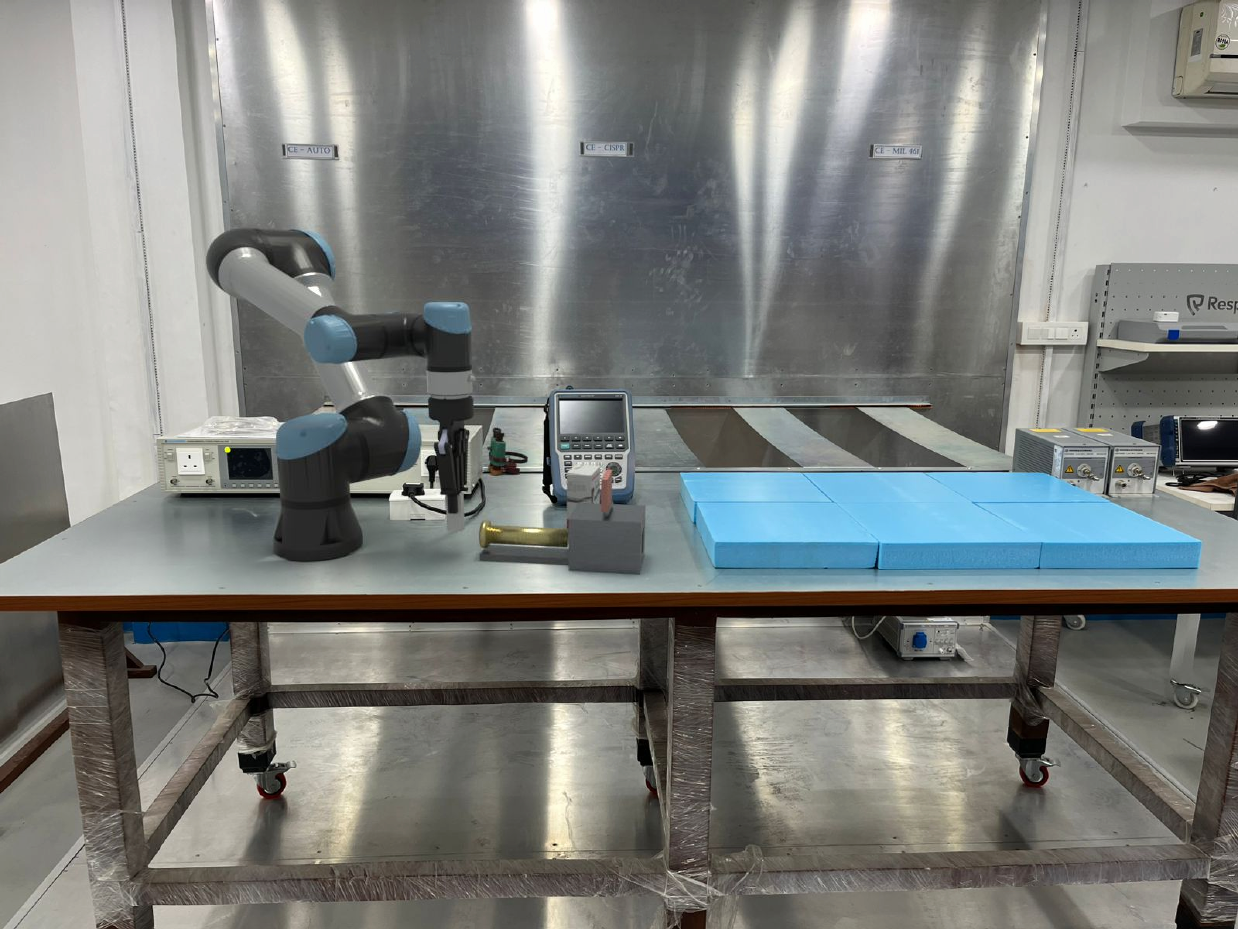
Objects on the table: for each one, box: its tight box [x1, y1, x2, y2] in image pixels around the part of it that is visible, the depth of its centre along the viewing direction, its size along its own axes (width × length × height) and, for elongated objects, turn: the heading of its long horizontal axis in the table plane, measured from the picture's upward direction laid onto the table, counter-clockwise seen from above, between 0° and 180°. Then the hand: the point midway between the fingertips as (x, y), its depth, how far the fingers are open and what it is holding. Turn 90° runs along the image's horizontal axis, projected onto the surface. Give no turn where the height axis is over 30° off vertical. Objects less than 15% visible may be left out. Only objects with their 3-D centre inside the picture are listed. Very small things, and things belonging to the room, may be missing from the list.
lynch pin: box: [478, 519, 569, 549], centre depth 146 cm, size 15×5×5 cm, turn 84°
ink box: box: [566, 463, 601, 529], centre depth 163 cm, size 9×5×12 cm, turn 168°
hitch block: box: [478, 503, 646, 575], centre depth 145 cm, size 28×10×9 cm, turn 84°
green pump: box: [486, 427, 529, 476], centre depth 206 cm, size 9×11×10 cm
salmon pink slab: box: [600, 469, 614, 518], centre depth 143 cm, size 1×7×6 cm, turn 174°
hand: (456, 529), depth 147 cm, fingers closed
